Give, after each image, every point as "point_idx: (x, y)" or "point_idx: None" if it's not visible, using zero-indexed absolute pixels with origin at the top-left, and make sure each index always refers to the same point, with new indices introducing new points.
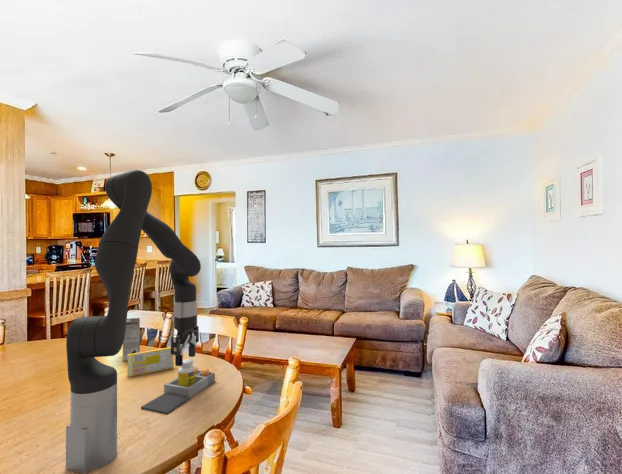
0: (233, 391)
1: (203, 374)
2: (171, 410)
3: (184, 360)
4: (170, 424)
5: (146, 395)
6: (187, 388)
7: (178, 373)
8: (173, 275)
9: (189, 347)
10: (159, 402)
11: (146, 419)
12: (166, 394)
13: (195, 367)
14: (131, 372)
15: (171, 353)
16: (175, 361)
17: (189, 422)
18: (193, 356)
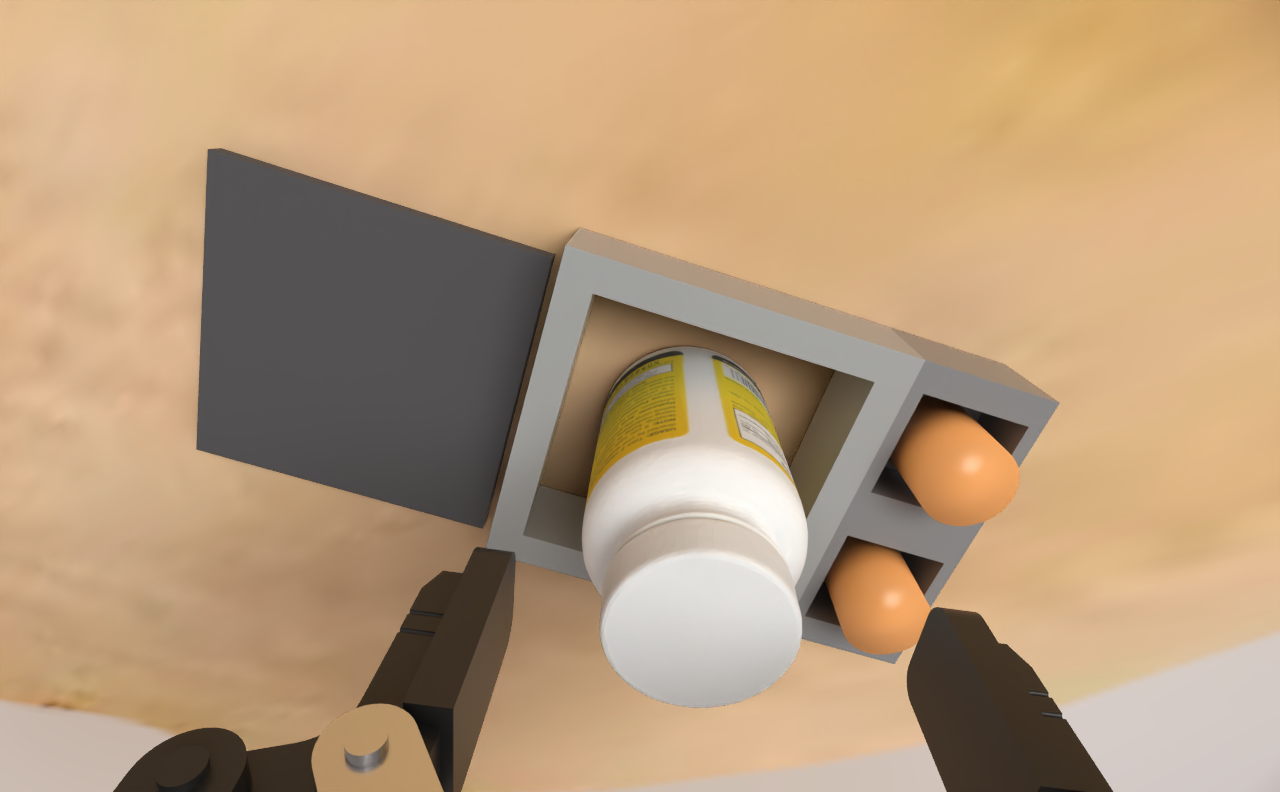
0: (655, 760)
1: (835, 591)
2: (251, 460)
3: (727, 596)
4: (97, 519)
5: (519, 26)
6: (494, 538)
7: (620, 451)
8: None
9: (1018, 773)
10: (338, 300)
11: (84, 309)
12: (515, 289)
13: (1008, 488)
14: None
15: (142, 779)
16: (410, 617)
17: (166, 622)
18: (912, 675)
